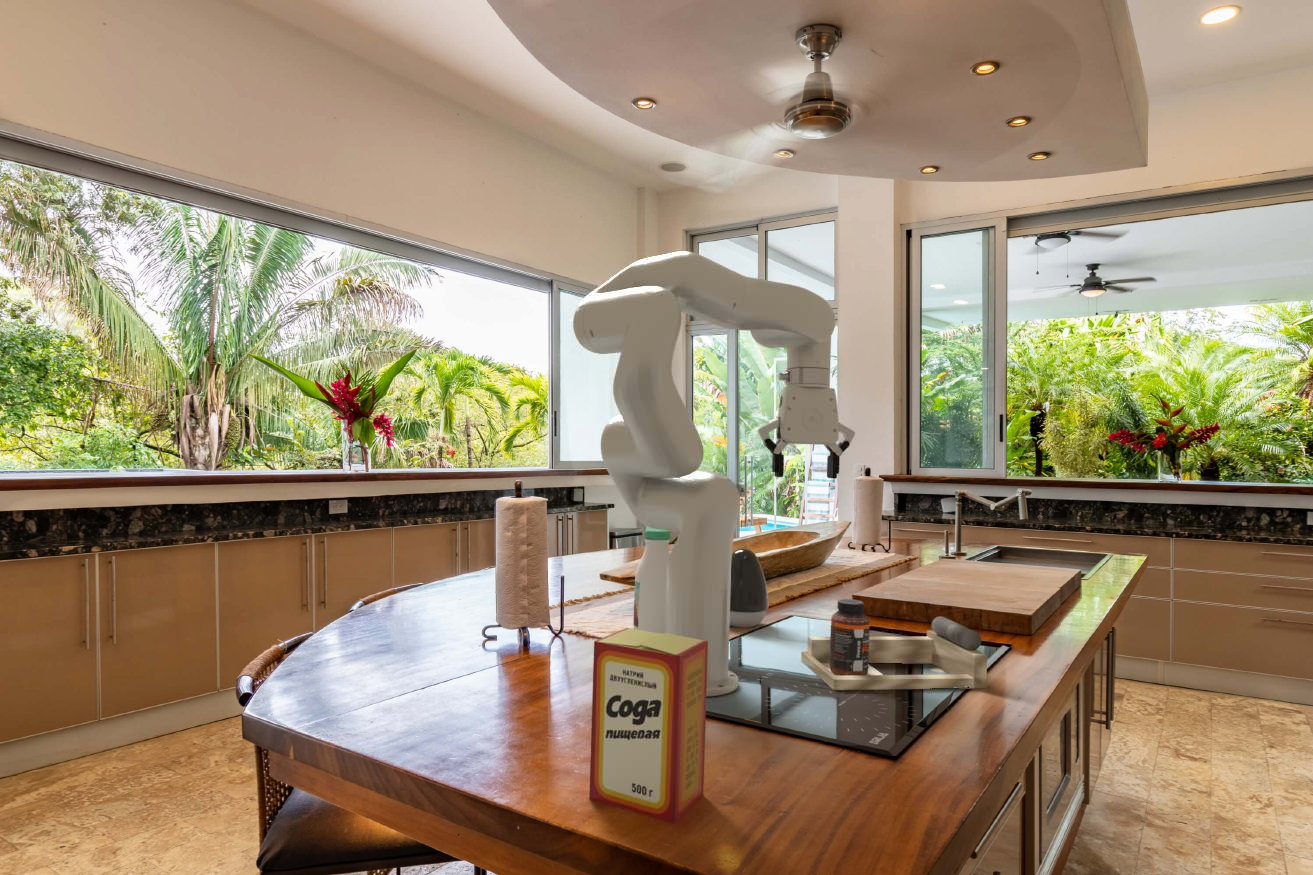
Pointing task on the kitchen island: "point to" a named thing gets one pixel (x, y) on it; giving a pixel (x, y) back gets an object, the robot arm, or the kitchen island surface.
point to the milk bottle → (652, 583)
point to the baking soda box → (648, 722)
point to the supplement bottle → (849, 639)
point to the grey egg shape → (747, 590)
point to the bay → (910, 660)
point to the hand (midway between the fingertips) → (805, 477)
